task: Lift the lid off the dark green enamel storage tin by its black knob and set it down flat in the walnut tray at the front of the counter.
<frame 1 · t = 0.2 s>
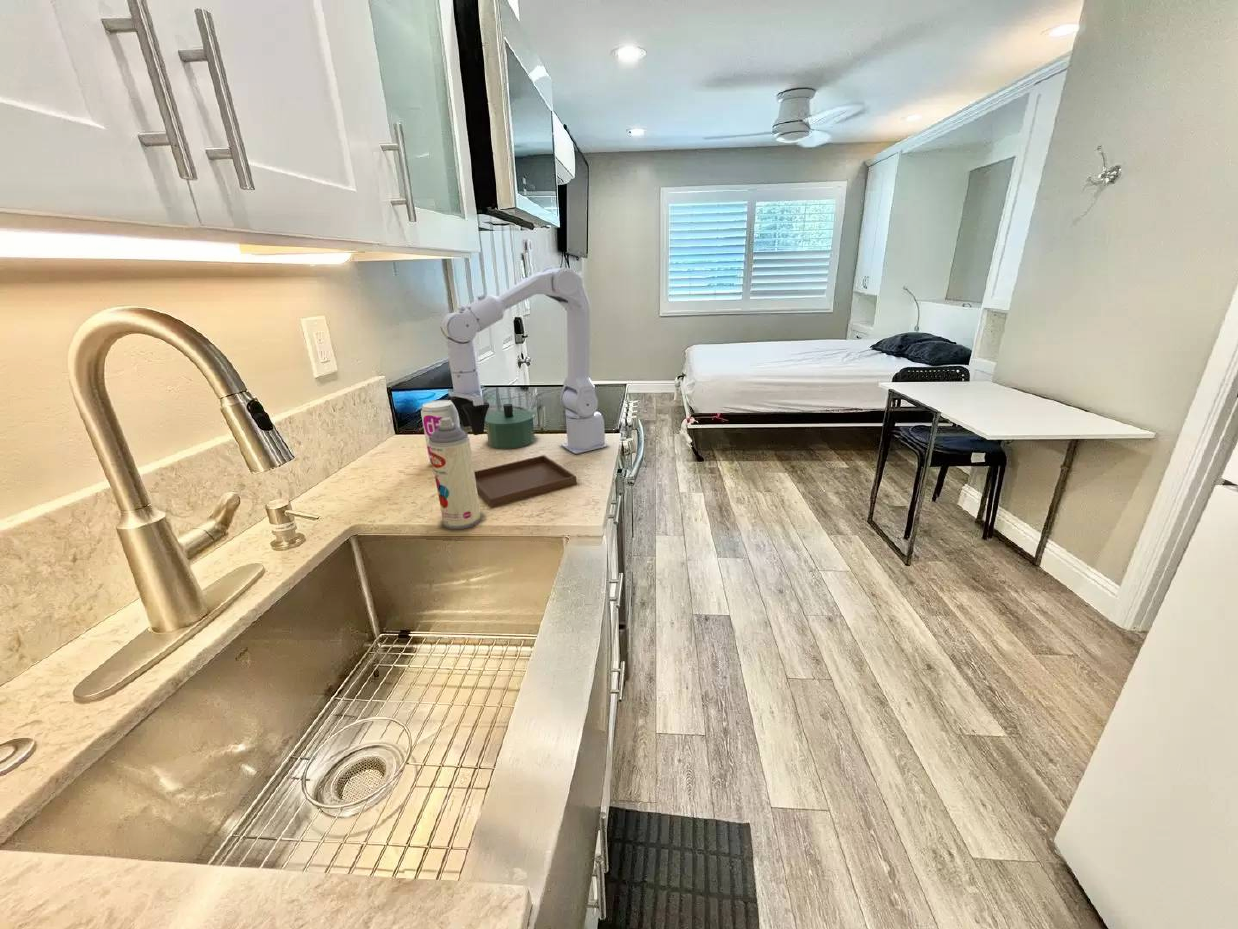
hand: (473, 429, 112), 10 cm above the worktop, tool pointing down, fingers open, 7 cm apart
supplement can: (448, 463, 121), on the worktop
tray: (521, 482, 108), on the worktop
aerosol can: (462, 521, 93), on the worktop
tin lid: (509, 418, 132), point 6 cm above the worktop, touching tin
tin: (511, 441, 135), on the worktop
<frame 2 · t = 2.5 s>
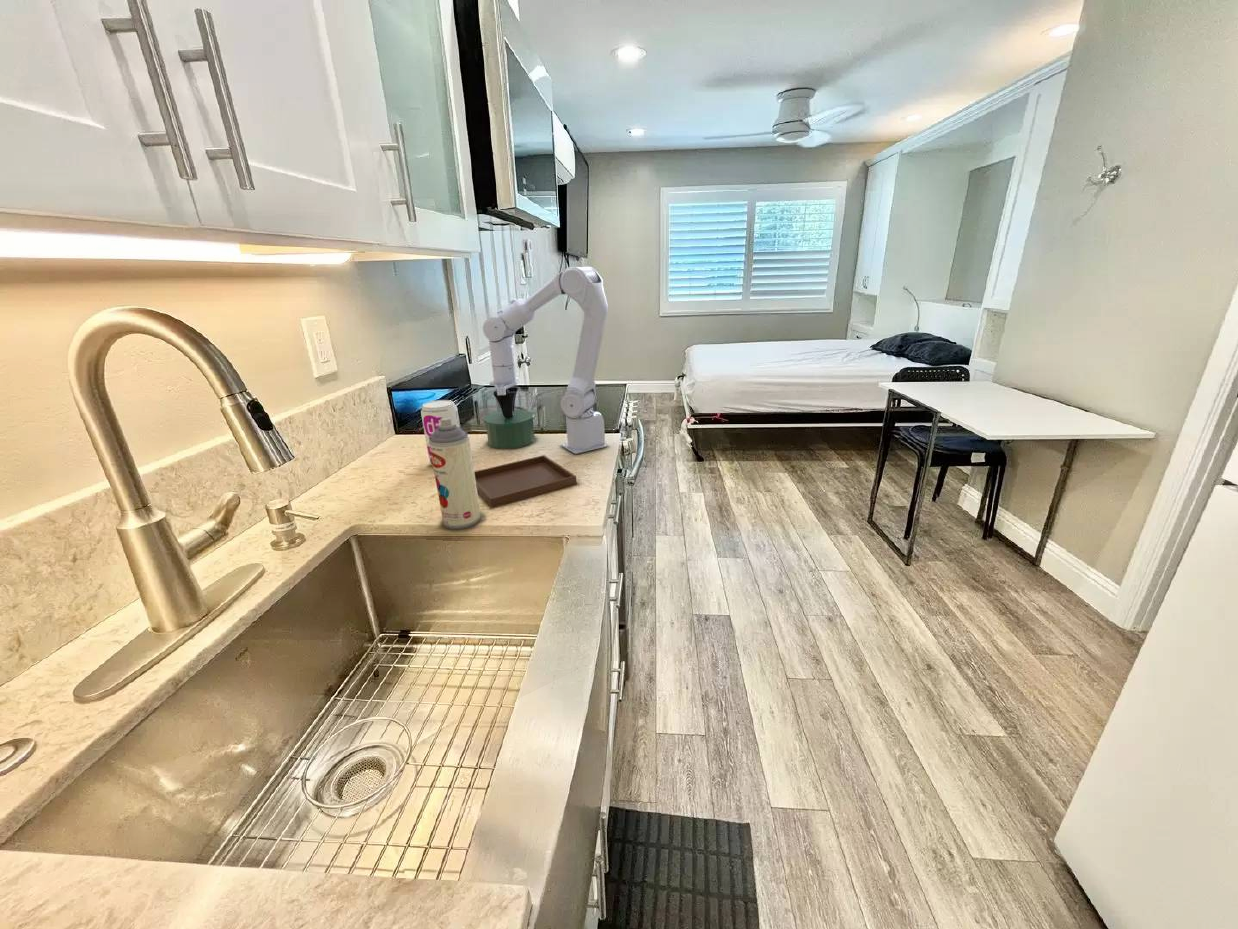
hand: (509, 415, 132), 7 cm above the worktop, tool pointing down, fingers closed on tin lid, 2 cm apart
tin lid: (509, 418, 132), point 7 cm above the worktop, touching gripper, tin
everything else where it was.
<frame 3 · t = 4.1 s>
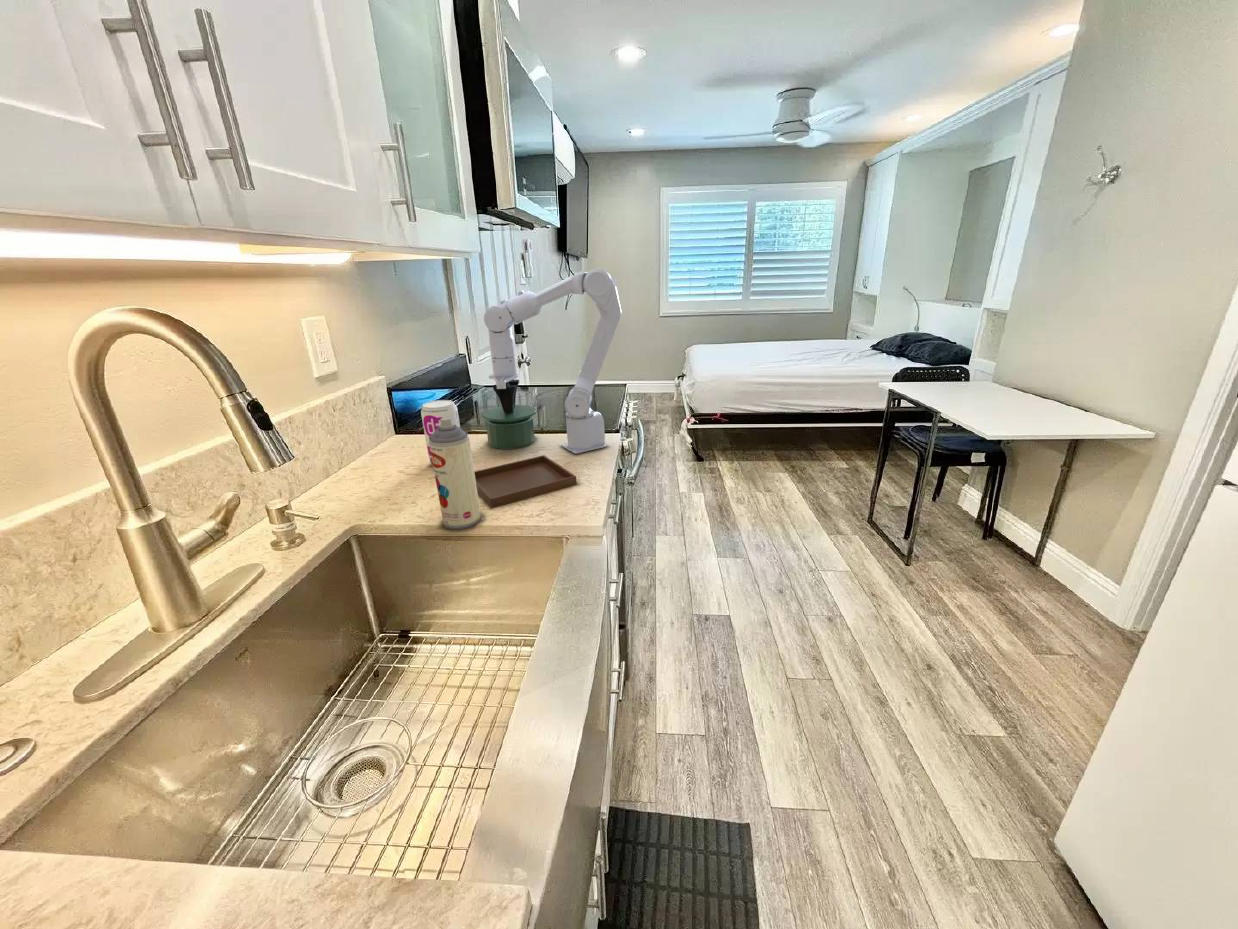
hand: (509, 410, 125), 10 cm above the worktop, tool pointing down, fingers closed on tin lid, 2 cm apart
tin lid: (509, 413, 126), point 9 cm above the worktop, touching gripper
everything else where it was.
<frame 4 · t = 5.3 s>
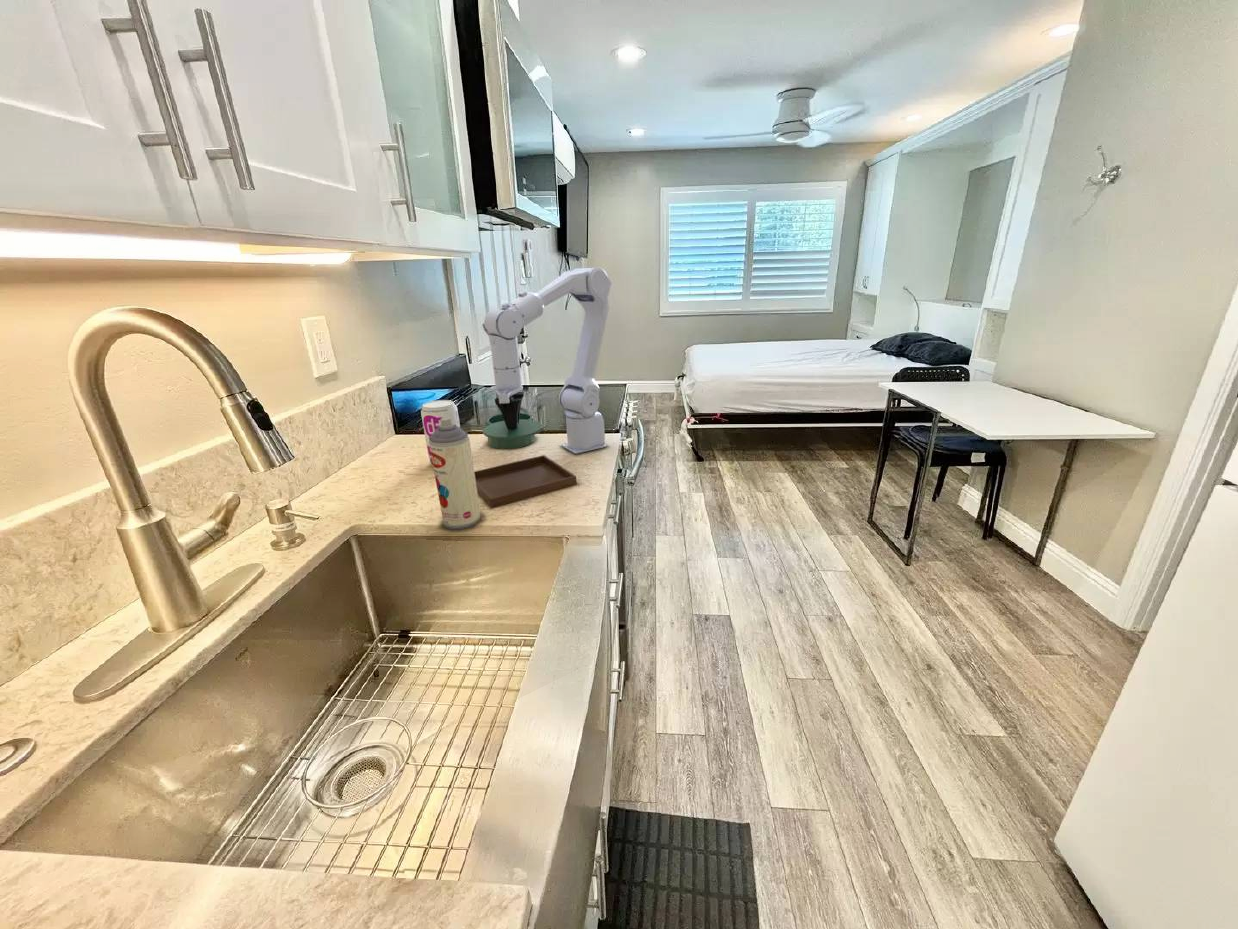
hand: (513, 426, 112), 10 cm above the worktop, tool pointing down, fingers closed on tin lid, 2 cm apart
tin lid: (513, 430, 113), point 10 cm above the worktop, touching gripper
everything else where it was.
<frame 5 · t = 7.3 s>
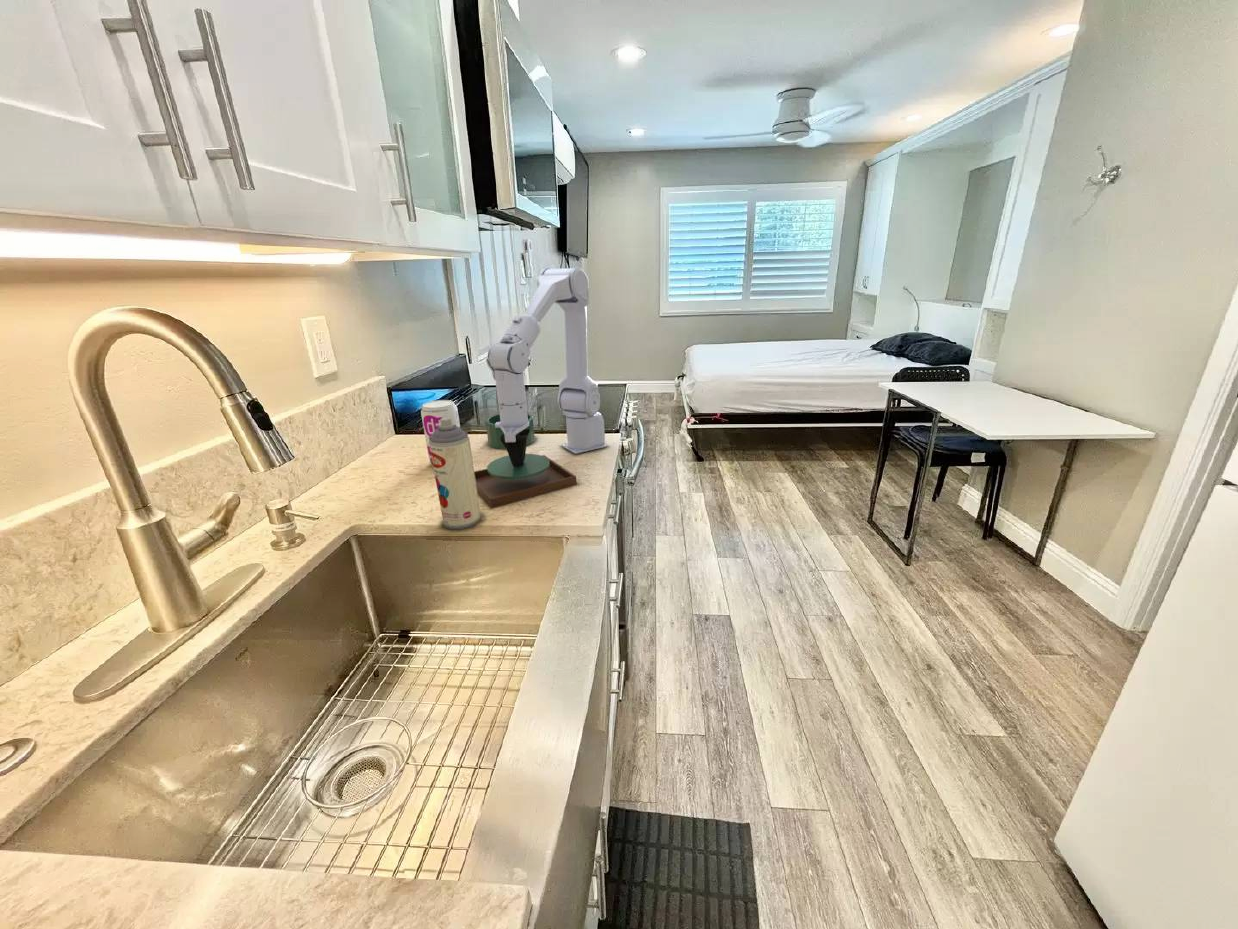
hand: (518, 463, 107), 5 cm above the worktop, tool pointing down, fingers closed on tin lid, 2 cm apart
tin lid: (518, 466, 107), point 4 cm above the worktop, touching gripper
everything else where it was.
when the fingers open (2 cm above the worktop, at t = 8.3 s): tin lid stays where it is, resting on tray.
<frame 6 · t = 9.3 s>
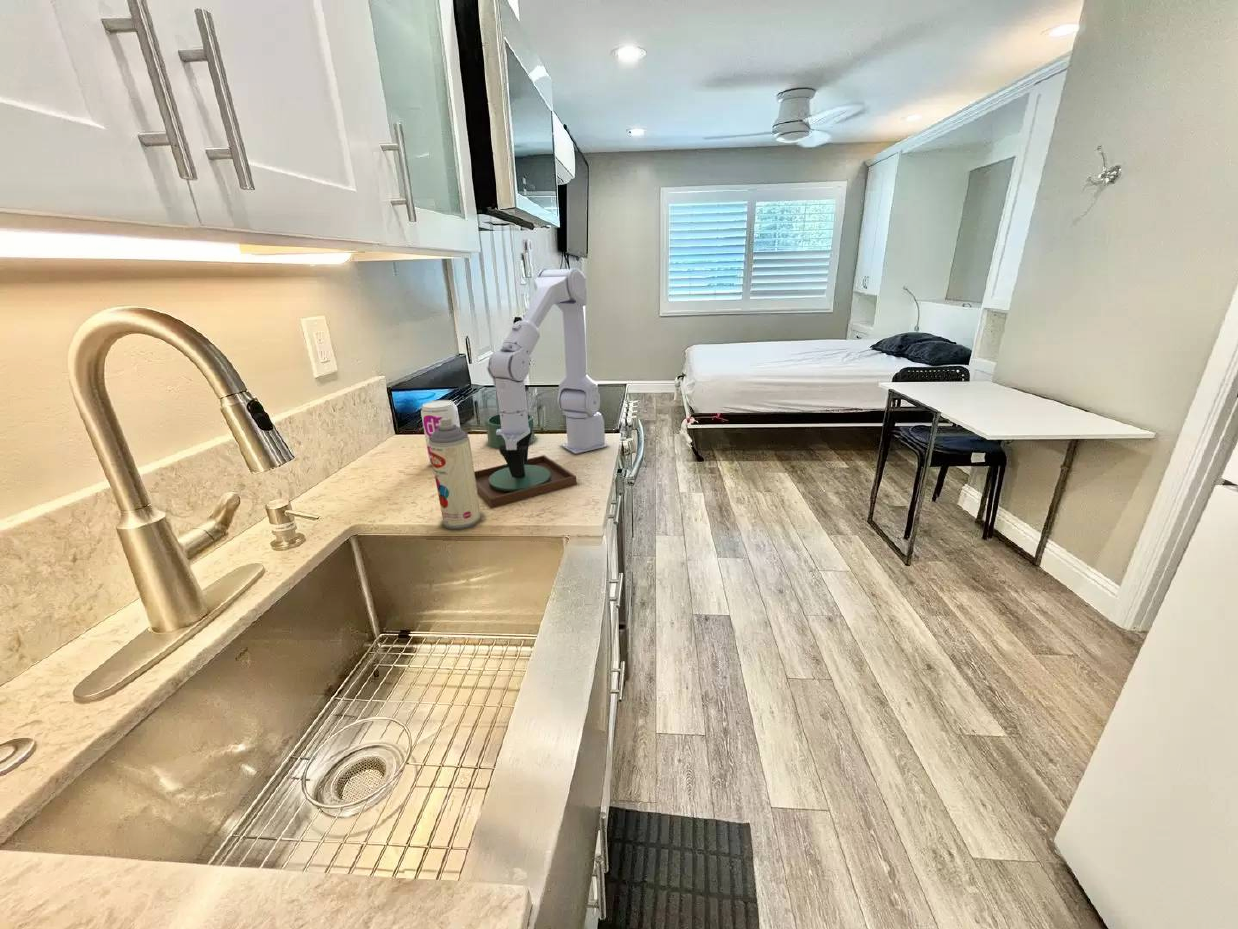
hand: (519, 469, 107), 3 cm above the worktop, tool pointing down, fingers open, 7 cm apart
tin lid: (520, 478, 108), point 1 cm above the worktop, touching tray
everything else where it was.
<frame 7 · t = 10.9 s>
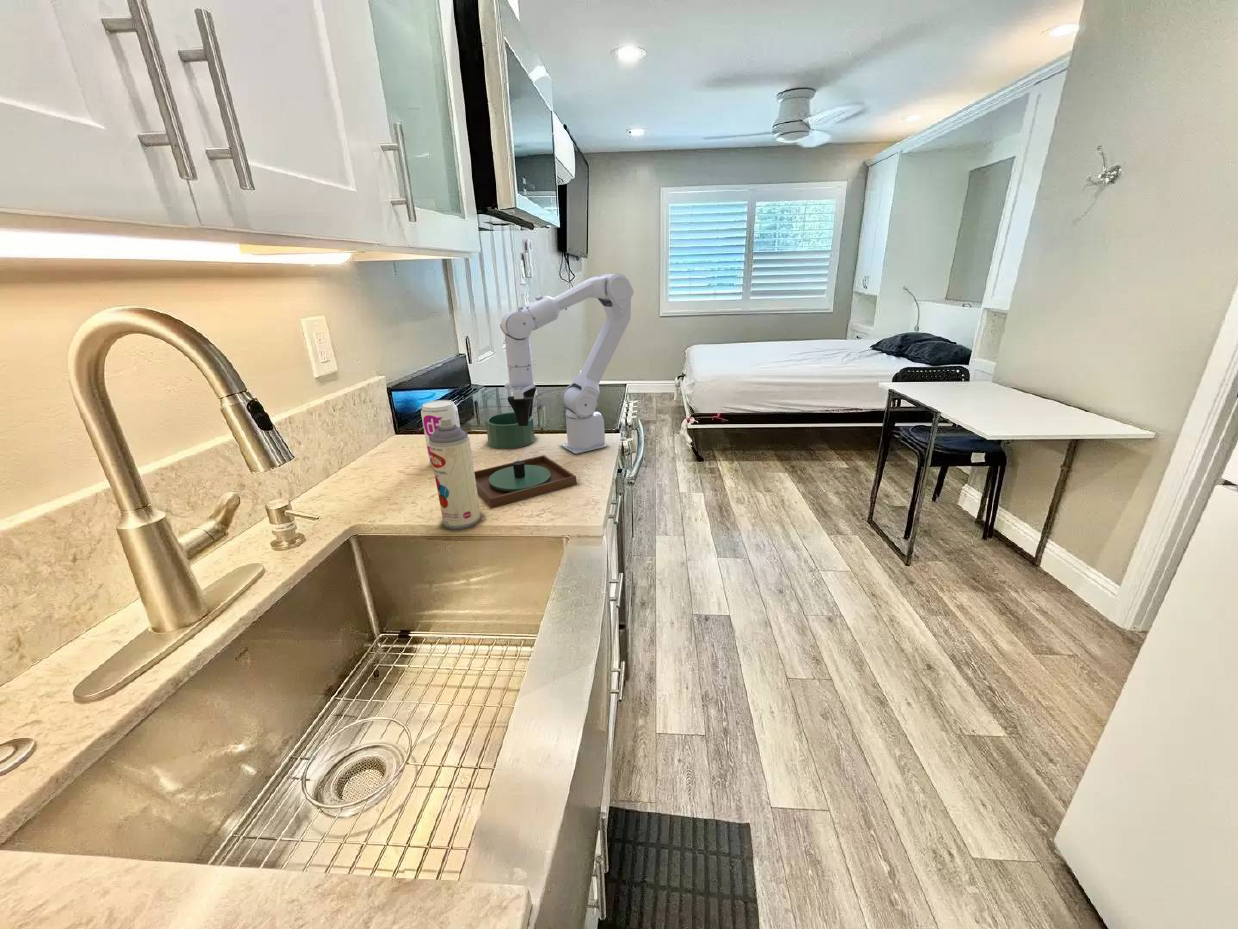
hand: (525, 420, 120), 9 cm above the worktop, tool pointing down, fingers open, 7 cm apart
nothing on the worktop moved.
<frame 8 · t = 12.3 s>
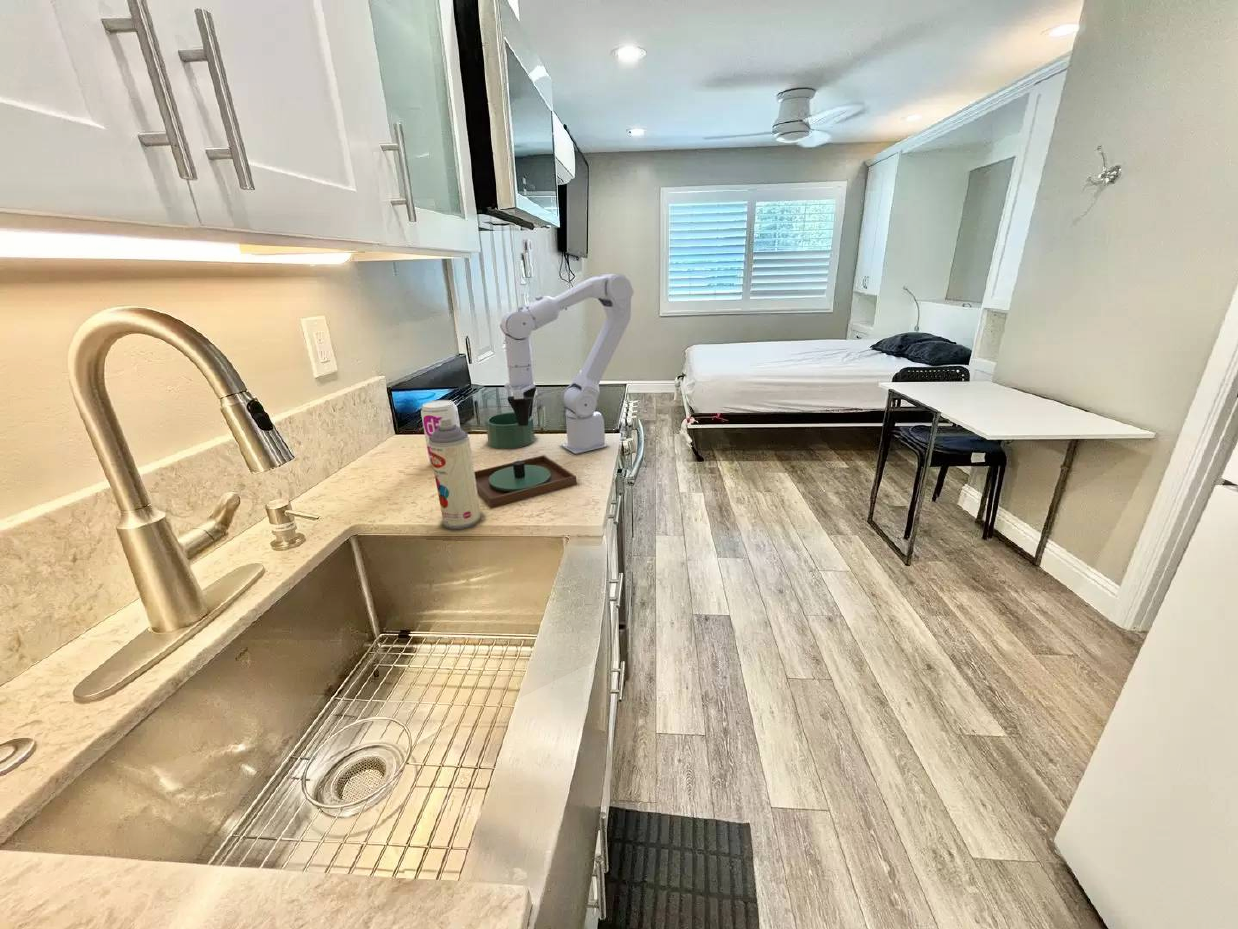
hand: (525, 420, 120), 9 cm above the worktop, tool pointing down, fingers open, 7 cm apart
nothing on the worktop moved.
at the end: tin lid 0.1 cm off-centre in the tray, point 1.0 cm above the tray's base; tin lid tilted 0°; the gripper is holding nothing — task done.
